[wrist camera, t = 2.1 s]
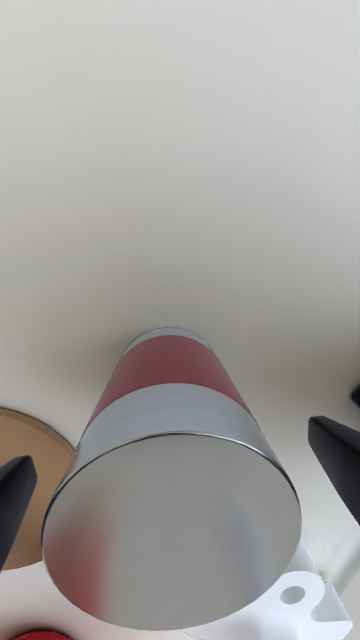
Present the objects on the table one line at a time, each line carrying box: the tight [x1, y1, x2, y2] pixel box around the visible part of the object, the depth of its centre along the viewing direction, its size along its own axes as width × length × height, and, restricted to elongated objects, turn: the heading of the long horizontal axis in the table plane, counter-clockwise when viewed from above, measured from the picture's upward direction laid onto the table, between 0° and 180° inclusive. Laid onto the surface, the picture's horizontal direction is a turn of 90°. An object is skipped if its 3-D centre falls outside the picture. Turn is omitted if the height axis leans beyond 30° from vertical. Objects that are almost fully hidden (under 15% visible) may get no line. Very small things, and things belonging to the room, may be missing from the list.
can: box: [41, 327, 302, 631], centre depth 8 cm, size 5×5×8 cm
